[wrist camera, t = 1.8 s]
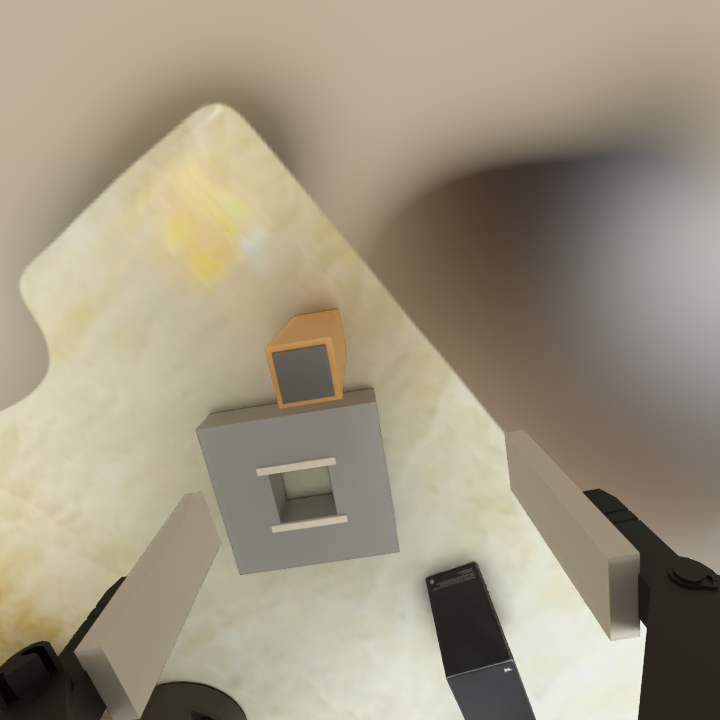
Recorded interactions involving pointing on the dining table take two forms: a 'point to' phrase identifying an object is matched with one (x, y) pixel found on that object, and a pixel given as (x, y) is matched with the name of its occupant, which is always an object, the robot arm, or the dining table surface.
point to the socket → (296, 452)
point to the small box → (475, 648)
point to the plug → (308, 359)
